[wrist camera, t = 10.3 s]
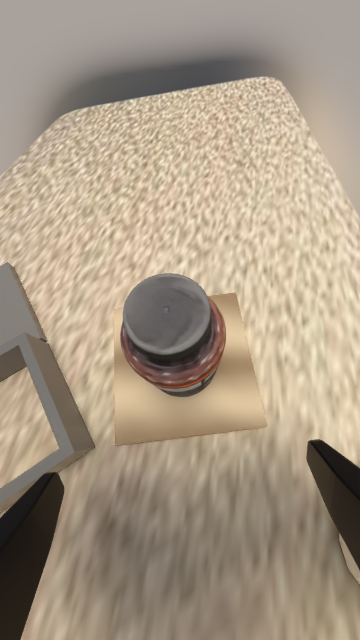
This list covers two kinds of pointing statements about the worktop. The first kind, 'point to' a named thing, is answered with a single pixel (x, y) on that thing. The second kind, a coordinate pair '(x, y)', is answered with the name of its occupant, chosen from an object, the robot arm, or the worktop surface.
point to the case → (37, 383)
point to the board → (197, 410)
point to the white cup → (350, 560)
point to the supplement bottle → (173, 334)
